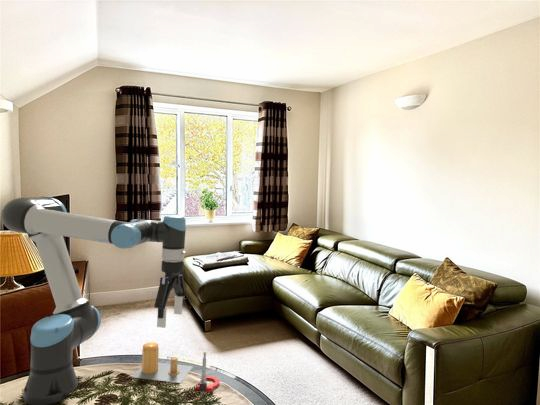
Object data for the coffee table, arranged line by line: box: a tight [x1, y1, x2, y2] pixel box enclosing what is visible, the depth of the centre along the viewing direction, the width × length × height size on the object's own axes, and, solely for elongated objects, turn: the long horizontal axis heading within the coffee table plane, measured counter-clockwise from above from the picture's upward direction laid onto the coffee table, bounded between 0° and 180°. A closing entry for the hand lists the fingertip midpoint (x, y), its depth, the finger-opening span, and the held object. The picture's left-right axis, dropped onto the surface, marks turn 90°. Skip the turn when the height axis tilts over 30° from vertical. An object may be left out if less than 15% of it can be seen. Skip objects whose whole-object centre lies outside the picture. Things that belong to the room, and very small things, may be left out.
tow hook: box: [194, 351, 220, 393], centre depth 127 cm, size 8×13×9 cm
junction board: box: [131, 356, 194, 384], centre depth 131 cm, size 18×12×6 cm, turn 82°
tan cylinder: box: [141, 341, 160, 374], centre depth 132 cm, size 5×5×9 cm
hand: (169, 320), depth 129 cm, fingers open, 13 cm apart
